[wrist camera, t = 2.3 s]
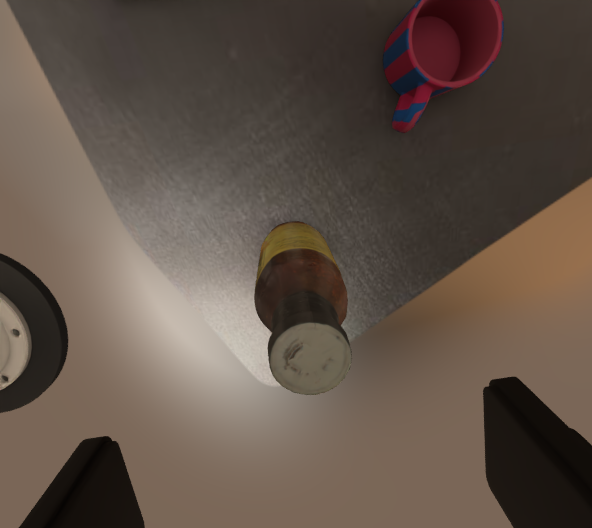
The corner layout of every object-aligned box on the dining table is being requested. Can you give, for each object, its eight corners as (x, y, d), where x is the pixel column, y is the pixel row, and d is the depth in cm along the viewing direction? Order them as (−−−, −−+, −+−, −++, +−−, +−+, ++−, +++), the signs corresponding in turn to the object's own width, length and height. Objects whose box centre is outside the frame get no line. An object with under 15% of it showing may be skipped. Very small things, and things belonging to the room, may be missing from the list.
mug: (477, 42, 33) (524, 14, 27) (410, 149, 35) (438, 148, 29) (412, -4, 32) (444, -45, 26) (347, 109, 34) (361, 98, 28)
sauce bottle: (250, 236, 37) (212, 322, 18) (310, 208, 37) (337, 265, 17) (280, 295, 39) (275, 431, 20) (338, 269, 38) (391, 382, 19)
